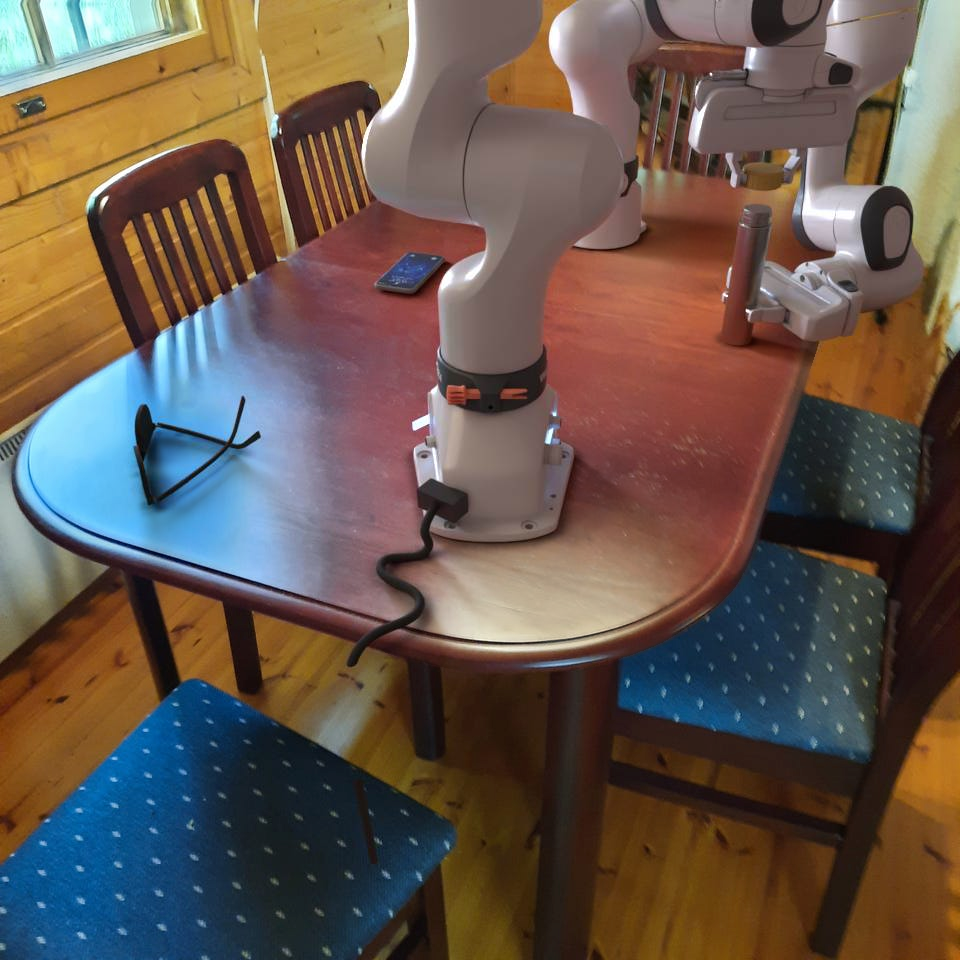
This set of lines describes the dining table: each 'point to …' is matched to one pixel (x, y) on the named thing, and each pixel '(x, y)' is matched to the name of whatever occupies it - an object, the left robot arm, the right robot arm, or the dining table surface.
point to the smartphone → (409, 272)
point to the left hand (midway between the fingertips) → (761, 185)
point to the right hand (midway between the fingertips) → (735, 307)
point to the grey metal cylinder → (746, 272)
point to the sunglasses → (147, 427)
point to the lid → (763, 176)
